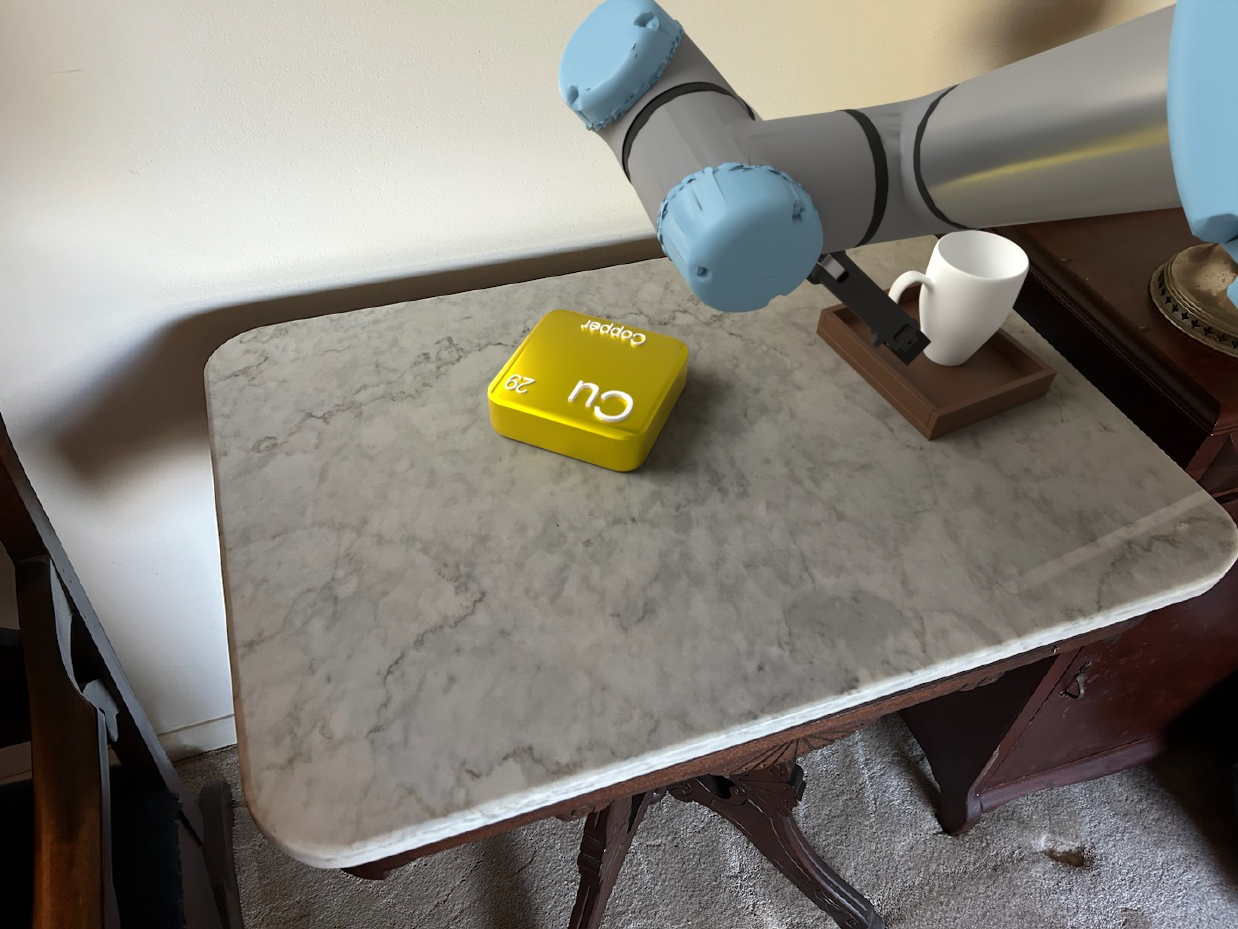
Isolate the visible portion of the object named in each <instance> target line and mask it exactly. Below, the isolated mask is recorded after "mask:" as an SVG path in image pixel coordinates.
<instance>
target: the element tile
mask: <svg viewBox="0 0 1238 929" xmlns="http://www.w3.org/2000/svg"><path fill="white" fill-rule="evenodd" d="M689 357H690V352H689V346H688V345H687V344H686V343H685V342H684V341H683V340H681V339H679V338H677V337H674V336H670V335H666V334H663V333H659V332H655V331H652V330H649V329H644V328H640V327H637V326H633V325H630V324H625V323H621V322H617V321H613V320H609V319H607V318H603V317H600V316H599V317H598V316H595V315H591V314H587V313H584V312H581V311H577V310H576V311H575V310H572V309H565V308H564V309H563V308H555V309H553V310H551V311H549V312H547V313H546V314H545V315H543V316H542V317H541V318H540V320H539V321H538V322H537V324H536V325H535V326H534V327H533V329H532V330H531V332H530V333H529V334H528V335H527V336H526V338H525V339H524V340H523V342H522V343H520V345H519V347H518V348H517V349H516V351H515V352H514V353H513V355H511V357H510V358H509V360H508V361H507V362H506V363H505V364H504V366H503V367H502V368H501V370H500V371H499V372H498V373H497V375H496V376H495V377H494V378H493V380H492V381H491V382H490V384H489V385H488V389H487V402H488V410H489V417H490V424H491V425H492V428H493V431H495V432H496V433H497V434H499V435H500V436H503V437H505V438H508V439H511V440H514V441H518V442H521V443H525V444H526V445H527V444H528V445H531V446H535V447H538V448H541V449H544V450H547V451H550V452H553V453H555V454H556V453H557V454H559V455H563V456H567V457H569V458H573V459H576V460H580V461H582V462H585V463H589V464H592V465H596V466H598V467H602V468H605V469H608V470H611V471H615V472H631V471H634V470H636V469H638V468H639V467H641V466H642V465H643V464H644V463H645V461H646V460H647V458H648V456H649V454H650V452H651V450H652V448H653V446H654V445H655V443H656V441H657V439H658V437H659V435H660V433H661V432H662V430H663V428H664V426H665V424H666V422H667V420H668V418H669V417H670V415H671V414H672V411H673V409H674V407H675V405H676V404H677V402H678V400H679V398H680V396H681V395H682V392H683V390H684V389H685V386H686V383H687V375H688V367H689V366H688V365H689Z"/></svg>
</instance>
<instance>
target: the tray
mask: <svg viewBox="0 0 1238 929" xmlns="http://www.w3.org/2000/svg"><path fill="white" fill-rule="evenodd" d="M921 287H922V282H914V283H912V284H910V285H909V286H908V287H906V288H905V289H904V291H903V292H902V293H901V295H900V297H899V300H898V305H899V306H900V307H901V308H902V309H903V310H904V311H905V312H906V313H907V314H908V315H909V316H910V317H912V318H915V319H916V320H917V321H918V323H919V324H920V311H919V300H920V292H921ZM890 289H891V287H889V288H886V289H882V290H883V291H884V292H885V293H886V294H887V295H889V292H890ZM919 329H920V330H921V324H920V328H919ZM870 330H871V329H870V328H869V327H868V326H867V325H866V324H865V323H864V322H863V321H862V320H860V319H859V318H858V317H857V316H856V315H855V314H854V313H853V312H852V311H851V310H850V309H848V308H847V307H846V306H845V305H844V304H843V303H842V302H841V303H837V304H834V305H831V306H828V307H825V308H822V309H821V310H820V314H819V318H818V323H817V328H816V330H815V332H816V335H818V336H819V337H820V338H821V339H822V340H823V341H824V342H825V343H826V344H827V345H828V346H829V347H830V348H831V349H832V350H833V351H835V353H837V354H838V355H839V356H840V358H842V359H843V360H844V361H845V362H846V363H847V364H848V366H850V367H851V368H852V369H853V370H854V371H855V372H856V373H857V374H858V375H860V377H862V378H863V379H864V380H865V381H866V383H867V384H868V385H870V386H871V387H872V388H873V389H874V390H875V391H876V392H877V393H878V394H879V395H880V396H881V397H882V398H884V400H886V402H888V403H889V404H890V405H891V406H892V407H893V409H895V410H896V411H897V412H898V413H899V414H900V415H901V416H902V417H903V418H904V419H905V420H906V421H907V422H908V423H909V424H910V425H911V426H912V427H914V428H915V429H916V430H917V431H918V432H919V433H920V434H921V435H922V436H923V437H924V438H925V439H926V440H927V441H931V440H934V439H936V438H939V437H942V436H944V435H946V434H949V433H952V432H955V431H957V430H960V429H962V428H964V427H967V426H970V425H973V424H975V423H978V422H980V421H983V420H985V419H988V418H990V417H993V416H995V415H998V414H1001V413H1004V412H1006V411H1008V410H1011V409H1014V408H1017V407H1018V406H1022V405H1024V404H1027V403H1029V402H1032V401H1034V400H1037V399H1039V398H1042V397H1044V396H1045V397H1046V395H1047V393H1048V392H1049V389H1050V387H1051V386H1052V384H1053V381H1055V380H1054V379H1055V378H1056V376H1057V374H1058V371H1057V370H1056V369H1055V368H1053V367H1052V366H1051V365H1050V364H1048V363H1047V362H1046V361H1044V360H1043V359H1042V358H1041V357H1039V356H1038V355H1036V353H1034V352H1033V351H1031V350H1030V349H1029V348H1027V347H1026V346H1025V344H1023V343H1021V342H1020V341H1018V340H1017V339H1016V338H1015V337H1014V336H1012V335H1011V334H1010V333H1008V332H1007V331H1006V330H1004V329H1003V328H1002V326H1000V328H999V329H998V330H997V331H996V332H995V333H994V334H993V335H992V336H991V337H990V338H989V339H988V340H987V341H986V342H985V343H984V344H983V345H982V346H981V347H980V348H979V349H978V350H977V351H976V352H975V353H974V354H972V355H971V356H970V357H969V358H968V359H967V360H966V361H965V362H964V363H962V364H960V365H957V366H945V365H941V364H938V363H935V362H934V361H932V360H930V359H929V358H928V357H927V356H926V355H925V353H924V350H923V351H922V352H921V353H920V354H919V355H918V356H917V357H916V358H915V359H914V360H913V361H912V362H911V363H910V364H909V365H908V366H906V365H905V364H904V363H903V362H902V361H901V360H900V359H899V358H898V357H896V356H895V355H894V354H893V353H892V352H891V351H890V350H889V349H888V348H887V347H886V346H885V345H884V344H883V343H882V344H881V345H880V346H879V347H878V348H876V347H875V346H874V345H873V344H872V343H870V341H871V340H872V339H873V338H874V337H875V336H874V335H873V334H872V333H871V332H870Z"/></svg>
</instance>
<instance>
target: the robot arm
mask: <svg viewBox="0 0 1238 929" xmlns="http://www.w3.org/2000/svg"><path fill="white" fill-rule="evenodd" d="M557 83H558V90H559V94H560V97H561V99H562V100H563V102H564V104H565V105H566V106H567V107H568V108H569V109H570V110H571V111H572V112H573V113H574V114H575V115H576V116H577V118H578V119H580V121H582V124H583V127H584V128H585V129H586V130H587V131H589V132H591V131H592V132H593V133H595V134H596V135H598V136H599V137H600V138H601V139H602V140H603V141H604V142H605V143H606V145H607V146H608V147H609V148H610V149H611V151H612V153H613V155H614V156H615V159H616V160H617V162H618V164H619V166H620V168H621V170H622V171H623V174H624V176H625V177H626V179H627V180H628V182H629V183H630V185H631V186H632V187H633V190H634V191H635V193H636V196H637V197H638V199H639V201H640V203H641V205H642V208H643V209H644V211H645V213H646V215H647V217H648V219H649V221H650V223H651V224H652V225H651V226H652V227H653V229H654V231H655V232H656V234H657V240H658V242H659V243H660V245H661V249H662V252H663V253H664V255H665V256H666V257H667V258H668V260H669V262H672V263H673V264H672V265H673V266H674V267H675V268H676V269H677V271H678V272H679V275H680V276H681V277H682V278H683V280H684V282H685V283H686V285H687V286H688V288H689V289H690V291H691V292H692V294H693V295H694V296H695V298H697V299H698V300H699V301H700V302H701V303H702V304H704V305H706V306H708V307H710V308H712V309H713V310H717V311H719V312H724V313H735V314H741V313H748V312H755V311H758V310H762V309H765V308H766V307H768V306H769V303H770V302H771V301H772V300H774V299H776V298H777V297H778V296H782V297H787V296H788V295H790V294H791V293H792V292H794V291H795V290H797V288H798V287H799V286H801V285H802V284H803V282H804V281H807V282H808V283H809V284H811V285H815V286H817V285H822V286H823V287H824V288H825V289H827V290H828V291H829V292H830V293H831V294H832V295H833V296H834V297H835V298H836V299H837V300H839V302H841V303H843V304H844V305H845V306H846V307H847V308H848V309H850V310H851V311H852V312H853V313H854V314H855V315H856V316H857V317H858V318H859V319H860V320H862V321H863V322H864V323H865V324H866V325H867V326H868V327H869V328H870V329H871V330H870V332H871V333H872V334H873V335H874V336H875V337H874V338H873V339H872V340H871V341H870V343H872V344H873V345H874V346H875V347H876V348H878V347H879V346H880V345H881V344H882V343H883V344H884V345H885V346H886V347H887V348H888V349H889V350H890V351H891V352H892V353H893V354H894V355H895V356H896V357H898V358H899V359H900V360H901V361H902V362H903V363H904V364H905V365H906V366H908V365H909V364H910V363H911V362H912V361H913V360H914V359H915V358H916V357H917V356H918V355H919V354H920V353H921V352H922V351H923V350H924V349H925V348H926V347H927V346H928V345H929V344H930V343H931V341H930V340H929V339H928V337H927V336H926V335H925V334H924V333H923V332H922V331H921V330H920V329H919V328H920V324H919V323H918V321H917V320H916V319H915V318H912V317H910V316H909V315H908V314H907V313H906V312H905V311H904V310H903V309H902V308H901V307H900V306H899V305H898V304H897V303H896V302H895V301H894V300H893V299H891V298H890V297H889V296H888V295H887V294H886V293H885V292H884V291H883V290H884V289H882V288H881V287H880V286H879V285H878V284H877V283H876V282H875V281H874V280H873V279H872V278H871V277H870V276H869V275H868V274H867V273H866V272H865V271H864V270H862V268H861V267H860V266H859V265H857V264H856V262H854V260H853V259H852V258H850V257H849V255H848V254H847V250H852V249H856V248H859V247H862V246H868V245H869V246H870V245H875V244H882V243H888V242H894V241H900V240H901V241H902V240H908V239H913V238H920V237H926V236H933V235H941V234H950V233H953V232H961V231H970V230H973V231H979V230H981V229H986V228H995V227H1005V226H1014V225H1015V226H1016V225H1024V224H1033V223H1042V222H1053V221H1062V220H1072V219H1073V220H1074V219H1081V218H1090V217H1099V216H1110V215H1118V214H1129V213H1138V212H1147V211H1156V210H1166V209H1176V208H1183V211H1184V214H1185V217H1186V220H1187V223H1188V226H1189V228H1190V232H1191V234H1192V236H1193V237H1196V238H1198V239H1200V240H1201V242H1205V243H1206V242H1207V243H1214V244H1219V245H1220V246H1221V247H1222V248H1223V249H1224V250H1225V252H1226V253H1227V254H1228V255H1229V256H1230V257H1231V259H1233V261H1234V262H1235V263H1236V264H1237V265H1238V0H1176V1H1175V3H1172V4H1169V5H1167V6H1165V7H1162V8H1159V9H1156V10H1154V11H1151V12H1147V13H1145V14H1143V15H1140V16H1138V17H1135V18H1132V19H1128V20H1126V21H1124V22H1121V23H1118V24H1115V25H1112V26H1110V27H1107V28H1105V29H1103V30H1099V31H1096V32H1094V33H1091V34H1088V35H1085V36H1083V37H1080V38H1077V39H1074V40H1071V41H1069V42H1067V43H1063V44H1061V45H1059V46H1055V47H1053V48H1051V49H1048V50H1045V51H1042V52H1039V53H1036V54H1034V55H1031V56H1028V57H1026V58H1023V59H1020V60H1018V61H1017V60H1016V61H1015V62H1012V63H1010V64H1007V65H1004V66H1002V67H999V68H996V69H993V70H990V71H988V72H985V73H982V74H980V75H977V76H974V77H971V78H969V79H966V80H963V81H961V82H960V83H955V84H952V85H950V86H947V87H944V88H941V89H939V90H936V91H933V92H931V93H928V94H925V95H921V96H919V97H913V98H911V99H905V100H901V101H894V102H888V103H883V104H878V105H877V104H876V105H871V106H866V107H865V106H864V107H860V108H844V109H836V110H833V111H826V112H818V113H811V114H801V115H794V116H787V117H780V118H773V119H766V120H765V119H763V118H762V117H761V115H760V114H759V113H758V112H757V111H756V110H755V108H753V106H752V105H751V104H750V103H748V101H747V100H745V99H743V98H742V97H741V96H740V95H739V94H738V93H737V92H736V91H735V89H734V88H733V87H732V86H731V84H730V83H729V82H728V81H727V79H725V77H724V76H723V74H722V73H721V72H720V71H719V70H718V69H717V67H716V66H715V65H714V64H713V63H712V61H711V60H710V59H709V58H708V56H707V55H705V53H704V52H703V51H702V50H701V49H700V47H698V45H697V44H696V43H695V42H694V41H693V39H692V38H691V37H690V36H689V34H688V33H686V30H685V29H684V26H683V25H682V24H681V23H680V21H679V20H678V19H674V18H673V17H672V16H671V15H670V14H668V12H666V10H665V9H664V8H663V7H662V6H661V5H660V4H659V3H658V2H657V1H656V0H605V1H604V2H602V3H600V5H598V6H597V7H596V8H594V9H593V10H592V11H591V12H590V13H589V14H588V15H587V17H586V18H585V19H584V20H583V21H582V22H581V23H580V24H579V25H578V27H577V28H576V29H575V31H574V32H573V34H572V35H571V36H570V38H569V41H568V42H567V44H566V46H565V48H564V51H563V53H562V56H561V59H560V63H559V68H558V74H557ZM1226 297H1227V298H1228V299H1229V300H1230V302H1231V303H1232V304H1233V305H1234V306H1235V308H1236V309H1237V310H1238V275H1237V276H1236V278H1235V279H1234V280H1233V282H1231V283H1230V284H1229V285H1228V286H1227V290H1226Z"/></svg>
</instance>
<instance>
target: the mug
mask: <svg viewBox="0 0 1238 929" xmlns="http://www.w3.org/2000/svg"><path fill="white" fill-rule="evenodd" d="M1029 268H1030V260H1029V258H1028V255H1027V254H1026V252H1025V251H1024V250H1023V249H1022V248H1021V247H1020V246H1019V245H1017V244H1016V243H1014V242H1013V241H1012V240H1010V239H1008V238H1006V237H1004V236H1001V235H998V234H995V233H992V232H987V231H982V230H970V231H961V232H952V233H946V234H945V235H943V236H942V237H941V238H940V239H939V240H938V241H937V243H936V244H935V246H934V248H933V251H932V253H931V256H930V260H929V262H928V265H927V268H926V271H925V273H924V274H923V273H922V272H920V271H917V270H908V271H906V272H904V273H902V274H901V275H899V276H898V277H897V279H896V280H895V281H894V282H893V284H892V285H891V287H890V288H891V289H890V292H889V295H888V296H889V297H890V298H891V299H893V300H894V301H895V302H896V303H897V304H898V300H899V297H900V295H901V293H902V292H903V291H904V289H905V288H906V287H908V286H909V285H910V284H912V283H914V282H922V287H921V292H920V300H919V311H920V324H921V331H922V332H923V333H924V334H925V335H926V336H927V337H928V339H929V340H930V341H931V343H930V344H929V345H928V346H927V347H926V348H925V349H924V353H925V355H926V356H927V357H928V358H929V359H930V360H932V361H934V362H935V363H938V364H941V365H945V366H957V365H960V364H962V363H964V362H965V361H966V360H967V359H968V358H969V357H970V356H971V355H972V354H974V353H975V352H976V351H977V350H978V349H979V348H980V347H981V346H982V345H983V344H984V343H985V342H986V341H987V340H988V339H989V338H990V337H991V336H992V335H993V334H994V333H995V332H996V331H997V330H998V329H999V328H1000V327H1002V325H1003V324H1004V323H1005V321H1007V318H1008V317H1009V315H1010V313H1011V311H1012V309H1013V307H1014V305H1015V302H1016V300H1017V298H1018V296H1019V294H1020V291H1021V289H1022V286H1023V285H1024V281H1025V279H1026V278H1027V274H1028V272H1029Z"/></svg>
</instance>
